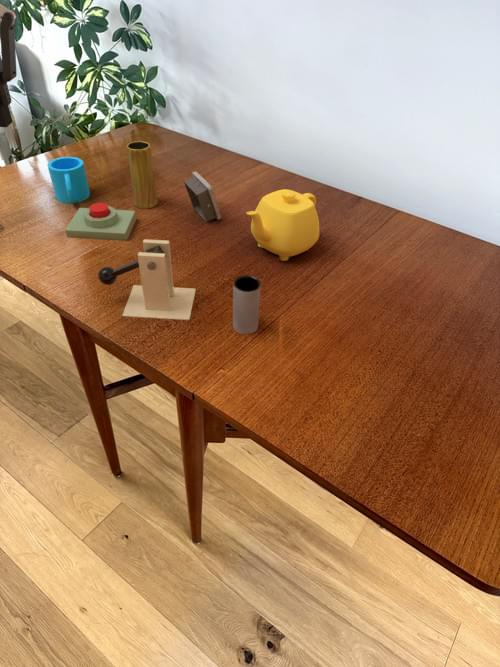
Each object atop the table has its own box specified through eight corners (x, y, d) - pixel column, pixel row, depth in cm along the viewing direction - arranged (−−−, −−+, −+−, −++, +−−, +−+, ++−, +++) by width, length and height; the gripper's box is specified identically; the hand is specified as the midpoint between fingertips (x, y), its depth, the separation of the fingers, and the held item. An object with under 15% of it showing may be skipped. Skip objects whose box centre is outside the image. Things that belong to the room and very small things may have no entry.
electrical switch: (222, 220, 110) (218, 184, 103) (202, 227, 108) (197, 190, 102) (206, 203, 116) (201, 168, 109) (187, 209, 114) (181, 174, 108)
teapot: (332, 246, 103) (342, 193, 95) (266, 279, 93) (270, 223, 85) (289, 221, 111) (294, 170, 102) (223, 249, 101) (223, 195, 92)
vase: (131, 209, 112) (122, 150, 102) (135, 197, 117) (126, 139, 107) (156, 209, 113) (150, 150, 103) (159, 197, 117) (153, 140, 107)
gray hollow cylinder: (232, 337, 81) (232, 291, 74) (233, 320, 84) (233, 274, 77) (258, 338, 81) (261, 292, 74) (257, 321, 84) (260, 275, 77)
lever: (103, 290, 82) (92, 277, 80) (108, 280, 84) (97, 266, 83) (165, 266, 78) (154, 251, 76) (168, 256, 80) (158, 241, 78)
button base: (67, 238, 102) (63, 222, 99) (81, 216, 109) (77, 200, 106) (126, 242, 102) (123, 226, 99) (136, 219, 109) (134, 203, 106)
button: (88, 218, 101) (86, 211, 100) (93, 209, 104) (92, 202, 103) (106, 219, 101) (105, 212, 100) (111, 210, 104) (110, 203, 103)
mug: (55, 189, 118) (47, 158, 112) (89, 186, 120) (82, 155, 114) (56, 212, 110) (47, 179, 104) (92, 208, 112) (85, 176, 106)
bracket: (122, 320, 83) (110, 260, 74) (134, 289, 89) (124, 231, 81) (189, 324, 83) (185, 265, 74) (196, 293, 89) (193, 235, 81)
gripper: (-111, -53, 61) (-43, 130, 77) (-12, -46, 62) (35, 134, 78) (-81, -58, 67) (-23, 114, 83) (10, -51, 67) (50, 119, 83)
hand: (5, 124), depth 80 cm, fingers closed
